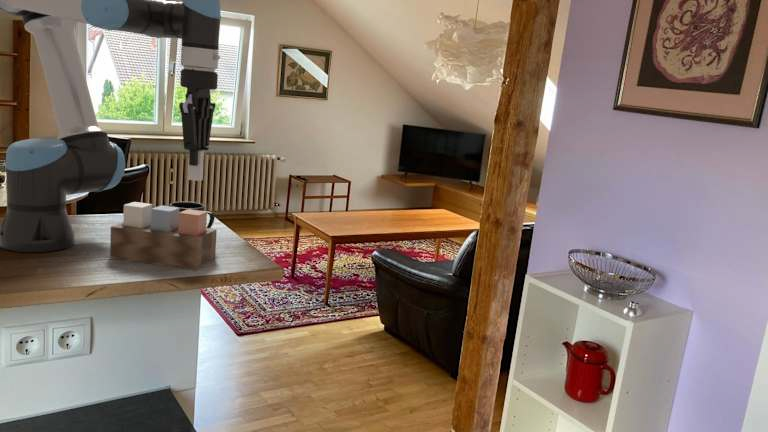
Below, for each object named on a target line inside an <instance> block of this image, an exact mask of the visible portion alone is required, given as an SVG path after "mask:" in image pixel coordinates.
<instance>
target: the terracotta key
mask: <svg viewBox="0 0 768 432" xmlns="http://www.w3.org/2000/svg"><path fill="white" fill-rule="evenodd" d="M207 219H208V214H207V212H206V210H204V211H199V210H191V209H187V210H185V211H182V212H180V213H179V233H181V234H188V235H195V236H200V235H202V234H204V233H206V227H207V221H208V220H207Z"/></svg>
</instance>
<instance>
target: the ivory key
mask: <svg viewBox="0 0 768 432" xmlns="http://www.w3.org/2000/svg"><path fill="white" fill-rule="evenodd" d="M152 208H153V203H147V202H146V203H145V202H138V201H132V202H129V203H125V204H123V221H122V222H123V225H124V226H131V227H138V228H144V227H147V226H149V225H151V209H152Z"/></svg>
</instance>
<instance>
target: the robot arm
mask: <svg viewBox="0 0 768 432" xmlns="http://www.w3.org/2000/svg"><path fill="white" fill-rule="evenodd" d="M0 13H1V14H6V15H11V16H17V17H20V18H21V19H22V23H23V26H24V30H25V31H26V32H28V33H30V34H31V35H32V36H33V37H34V40H35V45H36V48H37V52H38V56H39V59H40V64H41V66H42V67H41V68H42V71H43V74H44V75H43V76H44V79H45V82H46V85H47V90H48V93H49V94H48V95H49V97H50V101H51V105H52V109H53V112H54V117H55V119H56V124H57V128H58V131H59V133H58V136H57V137H56V138H50V137H43V138H28V139H21V140H18V141H15V142H13V143H11V144H10V145H9V146H8V148H7V149H6V156H5V162H4V167H5V171H6V173H5V174H6V179H5V180H6V212H5V216H4V218H3V222H2V224H1V227H0V248H2V249H4V250H7V251H12V252H18V253H19V252H20V253H45V252H52V251H60V250H64V249H68V248H70V247H72V246H73V245H75V235H76V234H75V231H74V230H73V227H72V222H71V221H70V218H69V214H68V211H67V196H68V195H69V196H70V195H76V194H77V195H79V194H84V193H85V194H86V193H91V192H94V193H99V192H103V191H106V190H109V189H110V190H111V189H112V188H114V187H116V186H117V185H118V184H120V182H121V180H122V177H123V176H124V174H125V170H126V159H125V154H124V151H123V150H122V148H121V147H119V145H118V144H116V143H115V142H112V141H110V139H109V136H108V135H109V134H108V132H107V131H106V130H104V129H103V128H101V127H100V126H99V123H98V120H97V117H96V112H95V109H94V105H93V101H92V97H91V93H90V89H89V86H88V82H87V79H86V75H85V71H84V67H83V64H82V59H81V57H80V56H81V55H80V53H79V49H78V45H77V41H76V37H75V32H74V30H75V29H76V28H77V26H78V25H79V23H80V24H81V23H82V24H86V25H90V26H93V27H95V28H98V29H101V30H105V31H117V32H123V33H133V34H138V35H144V36H148V37H151V38H157V39H162V38H164V39H165V38H166V39H181V50H180V52H181V54H180V66H181V67H183V68H182V69H181V70H180V78H179V79H180V82H179V84H180V86H181V87H182V88H186V94H185V101H184V102H179V105H178V107H179V111H180V116H181V126H182V140H183V141H182V142H183V148H184V150H186V151H187V150H188V167H187V168H188V169H187V170H188V171H187V172H188V173H187V174H188V175H187V180H189V181H195V182H196V181H197V182H202V181H203V180H204V161H205V160H204V156H205V155H204V154H205V151H209V148H210V147H209V146H210V140H211V132H212V125H213V118H214V112H215V109H216V103H215V102H211V100H212V99H211V97H212V96H211V91H215V90H217V89H218V82H219V81H218V79H219V77H218V76H219V74H218V72H215V71H216V70H218V68H219V60H220V59H221V56H220V54H219V50H220V49H219V47H220V46H219V45H220V43H219V42H220V41H219V40H220V32H221V31H220V30H221V28H220V27H221V19H222V15H221V0H181V1H168V0H0Z"/></svg>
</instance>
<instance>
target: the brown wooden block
mask: <svg viewBox="0 0 768 432" xmlns="http://www.w3.org/2000/svg"><path fill="white" fill-rule="evenodd" d="M216 247H217V228H212V227H211V228H206V233H204V234H202V235H200V236H195V235H188V234H181V233H179V228H178V229H176V230H174V231H172V232H167V231H159V230H152V229H151V225H149V226H147V227H144V228H138V227H131V226H124V225H123V221H122V222H120V223H118V224H115V225H111V226H110V248H109V249H110V251H109V252H110V253H109V254H110V258H111V259H117V260H123V261H124V260H125V261H132V262H139V263H144V264H149V265H150V264H151V265H158V266H165V267H169V268H171V267H172V268H179V269H185V270H191V271H197V270H199V269H201V268H203V267H204V266H206V265H207V264H210V263H211V262H212V261H214V260H215V259H216V250H217V249H216Z"/></svg>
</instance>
